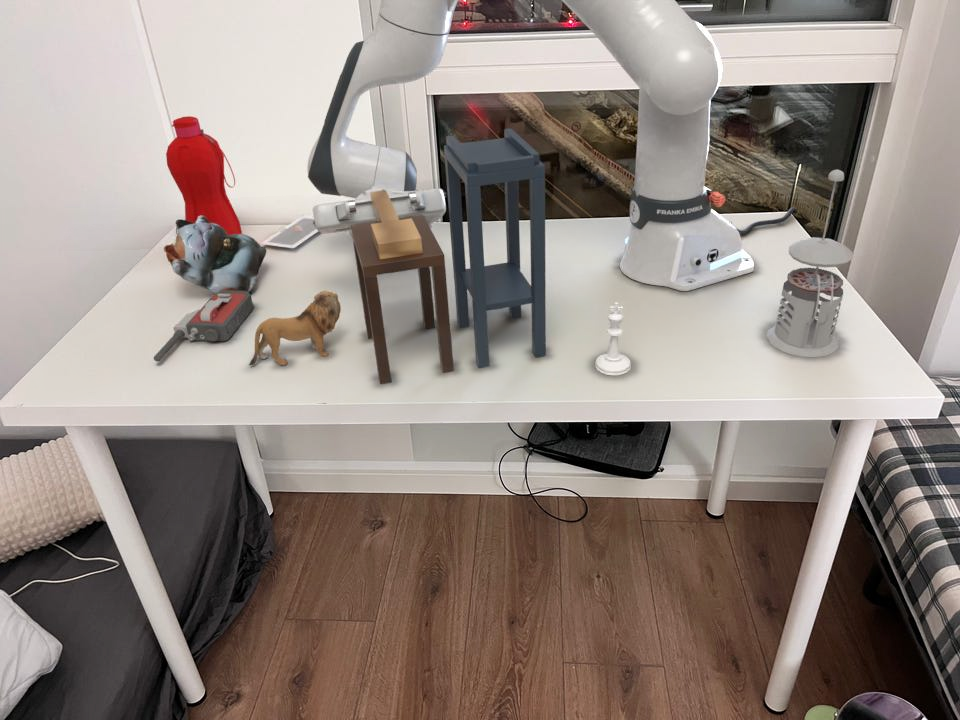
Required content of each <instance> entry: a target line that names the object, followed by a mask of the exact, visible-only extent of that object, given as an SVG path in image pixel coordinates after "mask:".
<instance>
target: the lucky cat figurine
mask: <svg viewBox="0 0 960 720" xmlns="http://www.w3.org/2000/svg"><path fill="white" fill-rule="evenodd" d="M175 225H176V226H175V238H174V239H175V240H174V241H173V243H170V244H166V245H165V246H164V247H163V251H164V253H166V254H165V255H166V259H167V261H168V262H169V263H170V266H171V268H172V271H173V273H174V274H176V275H178V276H179V277H181V279H183V280H185V281H188V282H190V283H192V284H193V285H197V286H199V287H201V288H203V289H206V290H208V291H209V292H212V293H214V294H216V293H218V292H219V291H222V290H228V291H247V292H251V291H252V289H253V288H254V287H255V286H256V284H257V282H258V278H259V271H260V268H261V266H262V264H263V262H264V259H265V258H266V256H267V255H266V254H267V248H266V247H265V246H262V245H261V244H260V243H259V242H257V240H255V239H254V238H253V237H252V236H250V235H247V234H243V233H242V234H232V235H228V234H227V232H226V231H225V229H224V228H222V227H221V226H220V225H218V224H214V223H210V222H209V221H208V219H207V218H206V217H205V216H202V215H201V216H198V219H197V221H196V222H195V223H193V222H188V221H186V220H185V219H180V218H179V219H176V221H175Z"/></svg>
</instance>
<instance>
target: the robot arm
mask: <svg viewBox="0 0 960 720" xmlns="http://www.w3.org/2000/svg"><path fill="white" fill-rule="evenodd" d="M458 2H459V0H381V1H380V6H379V13H378V16H377V19H376V20H377V21H376V24H375V25H374V28H373V29H372V31H371V32H370V34H369V35H368V36H367V37H366V39H364V40H361V41H357V42H355V43H354V45H353V46H352V47H351V49H350V50H349V52H348V54H347V56H346V60H345V63H344V66H343V69H342V71H341V73H340V74H339V78H338V80H337V83H336V86H335V89H334V92H333V95H332V97H331V101H330V103H329V106H328V109H327V112H326V115H325V118H324V122H323V124H322V125H323V126H322V128H321V131H320V133H319V134H318V137H317V138H316V140H315V142H314V144H313V146H312V148H311V150H310V153H309V156H308V160H307V165H306V166H307V169H306V171H307V179H308V180H309V181H310V183H311V184H312V185H313V187H314V188H315V189H316V190H317V191H318V192H319V193H320V194H322V195H327V196H328V195H329V196H337V197H341V196H343V197H347V198H351V199H350V200H343V201H336V202H329V203H321V204H317V205H315V206H313V207H312V213H313V216H314V221H313V226H314V227H315V228H316V229H317V230H318V232H319V233H322V234H336V233H342V232H343V233H344V232H349V235H350V237H351V239H352V240H353V238H352V232H351V225H354V224H361V223H368V222H375V221H378V219H377V216H376V213H375V211H374V208H373V206H372V202H371V195H370V192H376V191H384V190H386V191H387V194H388V196H389V198H390V200H391V203H392V205H393V207H394V209H395V212H396V214H397V216H398V218H403V217H410V216H417V215H423V216H424V217H425V219H426V221H427V223H428V225H429V227H430V229H431V230H432V228H433V223H436V222H438V221H439V220H440V219H441V218H442V217H443V216H444V215H445V213H446V212H447V204H446V197H445V194H444V189H442V188H440V187H436V188H431V189H417V182H418V181H417V180H418V171H417V170H418V169H417V168H416V165H415V163H414V161H413V159H412V157H411V156H410V154H409V153H408V152H407V151H403V150H400V149H395V148H393V147H392V148H391V147H387V146H383V145H377V144H372V143H367V142H363V141H359V140H355V139H352V138H350V137H348V136H347V132H348V128H349V125H350V123H351V120H352V118H353V115H354V112H355V110H356V106H357V103H358V101H359V99H360V98H361V96H362V95H363V94H365V93H366V92H367V91H370V90H372V89H375V88H380V87H384V86H390V85H399V84H407V83H408V84H409V83H412V82H415V81H418V80H421V79H423V78H425V77H426V76H428V75H430V74H431V73H432V72H433V71H434V70H436V68H437V67H438V66H439V64H440V63H441V62H442V58H443V55H444V52H445V49H446V46H447V44H448V40H449V35H450V31H451V25H452V21H453V16H454V12H455V9H456V6H457V3H458ZM561 2H563V4H564V5H565V6H566V7H567V8H568V9H569V10H571V12H573V14H574V15H575V16H576V17H577V18H578V19H579V20H580V21H581V22H582V23H583V24H584V25H585V26H586V27H587V28H588V29H589V30H590V31H591V32H592V34H593V35H595V37H596V38H597V39H598V40H599V41H600V42H601V43H602V44H603V46H604V47H605V48H606V50H607V51H608V52H609V54H610V55H611V56H612V57H613V59H614V60H615V61H616V62H617V63H618V64H619V66H620V67H621V68H622V70H624V72H625V73H626V74H627V75H628V76H629V78H630V79H631V80H632V81H633V82H634V83H635V85H637V87H638V88H639V90H638V91H639V92H638V112H637V113H638V114H637V132H636V133H637V135H636V153H635V170H634V185H632V187H631V192H630V202H629V223H630V225H629V231H628V236H627V237H626V238H625V240H624V243H625V244H626V245H625V248H624V251H623V255H622V258H621V260H620V263H619V269H620V271H621V272H622V273H623V274H624V275H625V276H626V277H628V278H630V279H632V280H634V281H636V282H639V283H641V284H647V285H652V286H660V287H666V288H671V289H674V290H677V291H680V292H681V291H682V292H689V291H692V290H695V289H699V288H702V287H706V286H710V285H713V284H716V283H719V282H723V281H728V280H730V279H733V278H737V277H740V276H743V275H747V274H750V273H752V272H754V270H755V262H754V260H753V258H752V257H751V256H750V254H748V252H746V251H745V250H744V249H743V245H742V237H741V236H742V235H746V234H748V233H749V232H751V231H752V230H753V229H754V228H756V227H761V226H768V225H769V226H770V225H776V224H780V223H783V222H785V221H787V220H788V219H789V218H790V217H791V216H792V214H798V210H797V209H796V208H795V207H790V208H789V209H788V210H787V211H786V213H785V215H783V216H782V217H779V218H775V219H765V220H759V221H754V222H753V223H751V224H749V225H748V226H747V227H746V228H745V229H739V228H738V227H737V226H735V225H734V224H733V222H732V221H730V220H727V218H725V217H723V216H722V214H720V213H719V212H717V211H716V210H714V209H713V208H712V205H711V204H713V206H715V207H717V208H720V207H722V206H723V205H724V204H725V201H726V196H725V195H724V194H722V193H720V192H719V191H712V190H711V189H710V188H708V187H707V186H705V182H706V174H707V173H706V171H707V163H708V155H709V154H708V153H709V146H710V119H711V118H710V115H711V114H710V113H711V100H712V99H713V97H714V95H715V94H716V92H717V90H718V88H719V86H720V82H721V79H722V73H723V63H722V58H721V55H720V53H719V50H718V48H717V47H716V45H715V42H714V41H713V39H712V36H711V34H710V32H709V31H708V30H707V28H706V27H705V26H703V24H701V23H699V21H697V20H695V19H692V18H691V17H690V16H689V15H688V14H687V13H686V11H685V10H684V9H683V8H682V6H680V4H679V3H678V2H677V1H676V0H561Z"/></svg>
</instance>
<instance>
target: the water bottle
mask: <svg viewBox="0 0 960 720" xmlns="http://www.w3.org/2000/svg"><path fill="white" fill-rule="evenodd" d="M171 127H173V128H174V130H175V131H174V132H175V134H176V137H175V138H173V140H172V141H171V142H170V143H169V145H168V146H167V148H166V149H167V150H166V153H165V157H166V158H165V159H166V165H167V168H168V171H169V173H170V176H171V177H172V179H173V181H174V182H175V184H176V186H177V188H178V190H179V192H180V193H181V195H182V198H183V199H182V200H183V203H184V220H186V221H188V222H193V223H195V222H196V221H197V219H198V216H201V215H202V216H205V217H206V218H207V219H208V221H209V222H210V223H214V224H218V225H220V226H221V227H222V228H224V229H225V231H226V232H227V234H228V235H232V234H243V231H242V226H241V223H240V220H239V218H238V216H237V212H236V211H235V209H234V207H233V205H232V203H231V201H230V199H229V197H228V194H227V191H226V187H225V184H226V185H227V187H228V188H234V187H235V185H236V178H235V174H234V172H233V169H232V166H231V165H230V162H229V159H228V158H227V156H226V155H225V152H224V151H223V150H222V148H221V147H220V144H219V141H218V140H217V139H215V138H214V137H212V136H211V135H210V134H207V133H205V132H204V129H203V128H201V125H200V122H199V118H197V117H195V116H182V117H178V118H176V119H173V121H172V125H171ZM225 161H226V162H227V165H228V166H229V169H230V171H231V174H232V177H233V182H234V183H233V186H231V185H230V184H229V183H228V181H227V179H226V176H225V175H226V174H225Z"/></svg>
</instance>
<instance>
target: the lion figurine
mask: <svg viewBox="0 0 960 720" xmlns="http://www.w3.org/2000/svg"><path fill="white" fill-rule="evenodd" d="M338 297H339V295H338V293H336V292H333V291H330V290H322V291H320V292H318V293H317V294H315V295H314V297H313V299H314V300H313V301H312V302H310V304H309V305H308V306H307V307H306V308H305V309H304V310H303V311H302V312H301V313H300V314H299V315H297V316H293V317H287V318H281V317H269V318H267V319H265V320H264V321H262V322H261V323H259V325H258V327H257V328H256V330H255V335H254V354H253V357H252V359H251V360H250V362H249V364H248V366H253V365H255V364H256V362H257V360H258V358H259V359H261V360H264V359H265V360H266V359H267V358H268V357H269V354H268V353H267V352H264V350H265V348H266V347H267V346H269V348H270V351H271V353H270V356H271V357H272V358H273V360H275V362H276V363H277V364H278V365H279V366H287V365H288V360H287V359H286V358H281V357H280V354H279V351H280V346H281V339H284V340H287V341H289V342H299V341H300V342H302V341H304V340H308V339H310V343H311V345H310V346H311V347H312V348H313V349H314V350H316V351H317V353H318V354H319V355H320V356H321V357H327V356H328V355H329V351H328V350H327V349H325V348H324V347H325V338H324V336H326V335H327V334H329V333H332V332H333V330H335V327H336V323H337V322H338V321H339V319H340V315H341V311H342V310H341V309H342V308H341V303H340V301H339V298H338ZM261 335H262V336H261Z"/></svg>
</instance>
